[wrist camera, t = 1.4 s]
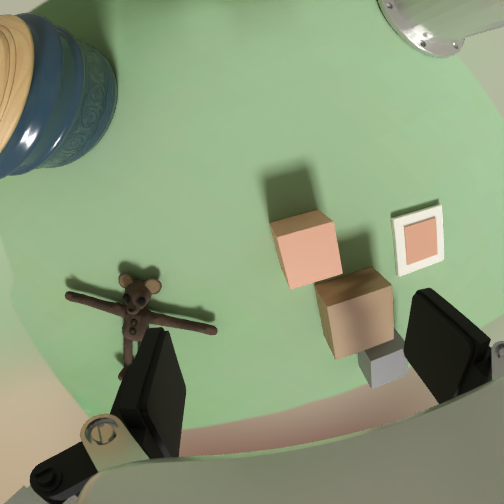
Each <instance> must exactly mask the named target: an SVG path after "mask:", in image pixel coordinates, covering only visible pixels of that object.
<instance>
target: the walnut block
mask: <svg viewBox="0 0 504 504" xmlns="http://www.w3.org/2000/svg"><path fill="white" fill-rule="evenodd" d="M314 286H315V291H316V296H317V301H318V306H319V311H320V316H321V322H322V327H323V333H324V336H325V338H326V341H327V343H328V345H329V347H330V349H331V351H332V353H333V355H334V358H335V360H337V359H340V358H343V357H346V356H349V355H352V354H355V353H358V352H361V351H363V350H366V349H369V348H372V347H374V346H377V345H380V344H382V343H385V342H387V341H390V340H392V339H394V319H393V294H392V285H391V284H390V283H389V282H388V281H387V280H386V279H385V278H384V277H383V276H382V275H381V274H380V273H379V272H377V271H376V270H375V269H374V268H373V267H371V268H368V269H364V270H361V271H358V272H355V273H352V274H349V275H346V276H343V277H339V278H336V279H333V280H330V281H326V282H323V283H320V284H317V285H314Z"/></svg>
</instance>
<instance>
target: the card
mask: <svg viewBox="0 0 504 504" xmlns="http://www.w3.org/2000/svg"><path fill="white" fill-rule="evenodd" d="M391 223H392V232H393V241H394V252H395V264H396V275H397V276H398V277H400V276H402V275H405V274H408V273H411V272H413V271H416V270H419V269H421V268H424V267H426V266H429V265H432V264H434V263H437V262H439V261H442V260H444V237H443V217H442V205H440V204H437V205H434V206H431V207H427V208H424V209H420V210H417V211H414V212H410V213H407V214H403V215H400V216H396V217H393V218H391Z"/></svg>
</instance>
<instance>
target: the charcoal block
mask: <svg viewBox="0 0 504 504" xmlns="http://www.w3.org/2000/svg"><path fill="white" fill-rule="evenodd" d="M404 343H405V341H404V340H403V338H402V337H401V336H400V335H399V333H398V332H397V331H396V330H395V328H394V339H392V340H390V341H387V342H385V343H382V344H380V345H377V346H374V347H372V348H369V349H366V350H363V351H361V352H358V362H359V367H360V368H361V370H362V372H363V374H364V376H365V378H366V380H367V381H368V383H369V385H370V387H371V389H374V388H376V387H379V386H381V385H384V384H386V383H389V382H391V381H394V380H396V379H398V378H401V377H403V376H405V375H407V368H408V360H407V359H406V358H405V356H404V352H403V348H404Z"/></svg>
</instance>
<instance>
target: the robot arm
mask: <svg viewBox="0 0 504 504" xmlns="http://www.w3.org/2000/svg"><path fill="white" fill-rule="evenodd" d="M378 3H379V5H380V8H381V11H382V12H383V14H384V16H385V18H386V20H387V21H388V22H389V24H390V25H391V27H392V28H393V29H394V30H395V31H396V32H397V34H398V35H399V36H400V37H401V38H402V39H404V40H405V41H406V42H407V43H408V44H409V45H411V46H412V47H414V48H415V49H416V50H418V51H420V52H422V53H424V54H426V55H429V56H432V57H438V58H444V57H449V56H452V55H455V54H456V53H458V52H459V51H460V50H461V48H462V46H463V44H464V40H465V38H466V37H469V36H472V35H476V34H479V33H483V32H486V31H489V30H493V29H497V28H501V27H504V0H378ZM490 340H491V339H490V338H489V337H488V336H487V335H486V334H484V332H482V331H481V330H480V329H479V328H478V327H477V326H476V325H474V324H473V323H472V322H471V321H470V320H469V319H468V318H466V317H465V316H464V315H463V314H462V313H461V312H459V311H458V310H457V309H456V308H455V307H453V306H452V305H451V304H450V303H449V302H447V301H446V300H445V299H444V298H443V297H441V296H440V295H439V294H438V293H436V292H435V291H434V290H433V289H431V288H426V289H421V290H418V291H417V292H416V293H415V295H413V298H412V304H411V310H410V316H409V322H408V328H407V333H406V338H405V343H404V348H403V352H404V356H405V358H406V359H407V360H408V362H409V363H410V364H411V366H412V367H413V368H414V370H415V371H416V372H417V374H418V375H419V376H420V378H421V379H422V381H423V382H424V383H425V385H426V386H427V387H428V389H429V390H430V392H431V393H432V394H433V396H434V397H435V399H436V400H437V401H438V403H439V405H436V406H434V407H431V408H429V409H426V410H424V411H421V412H418V413H415V414H413V415H410V416H407V417H404V418H401V419H398V420H395V421H392V422H389V423H386V424H383V425H380V426H377V427H373V428H370V429H366V430H362V431H359V432H356V433H351V434H347V435H344V436H339V437H336V438H331V439H326V440H322V441H317V442H312V443H307V444H301V445H296V446H290V447H284V448H278V449H270V450H263V451H254V452H245V453H235V454H224V455H210V456H189V457H179V448H180V438H181V430H182V421H183V413H184V405H185V397H186V386H185V383H184V380H183V376H182V373H181V370H180V367H179V364H178V360H177V357H176V354H175V350H174V347H173V344H172V340H171V337H170V333H169V331H164V329H163V328H162V327H159V328H147V329H146V332H145V334H144V337H143V339H142V342H141V344H140V347H139V350H138V352H137V355H136V357H135V360H134V363H133V364H129V365H128V367H127V369H126V371H125V374H124V377H123V379H122V382H121V385H120V387H119V390H118V393H117V395H116V398H115V401H114V404H113V406H112V409H111V412H110V414H100V415H97V416H94V417H92V418H90V419H89V420H87V421H86V423H85V424H84V425H83V427H82V429H81V432H80V437H81V440H82V441H81V442H79V443H77V444H76V445H74V446H72V447H70V448H68V449H66V450H65V451H63V452H61V453H59V454H57V455H55V456H53V457H51V458H49V459H47V460H46V461H44V462H42V463H40V464H38V465H37V466H36V467H35V468H34V469H33V470H32V473H31V475H30V484H31V485H30V486H29V487H28V488H26V487H25V486H23V487H22V488H21V489H20V490H19V491H17V492H16V493H15V494H14V495H13V496H12V497H11V498H10V499H9V500H8V501H7V502H5V503H4V504H504V341H500V342H496V343H495V344H494V345H493V346H492V348H491V347H490V346H489V343H490Z"/></svg>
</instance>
